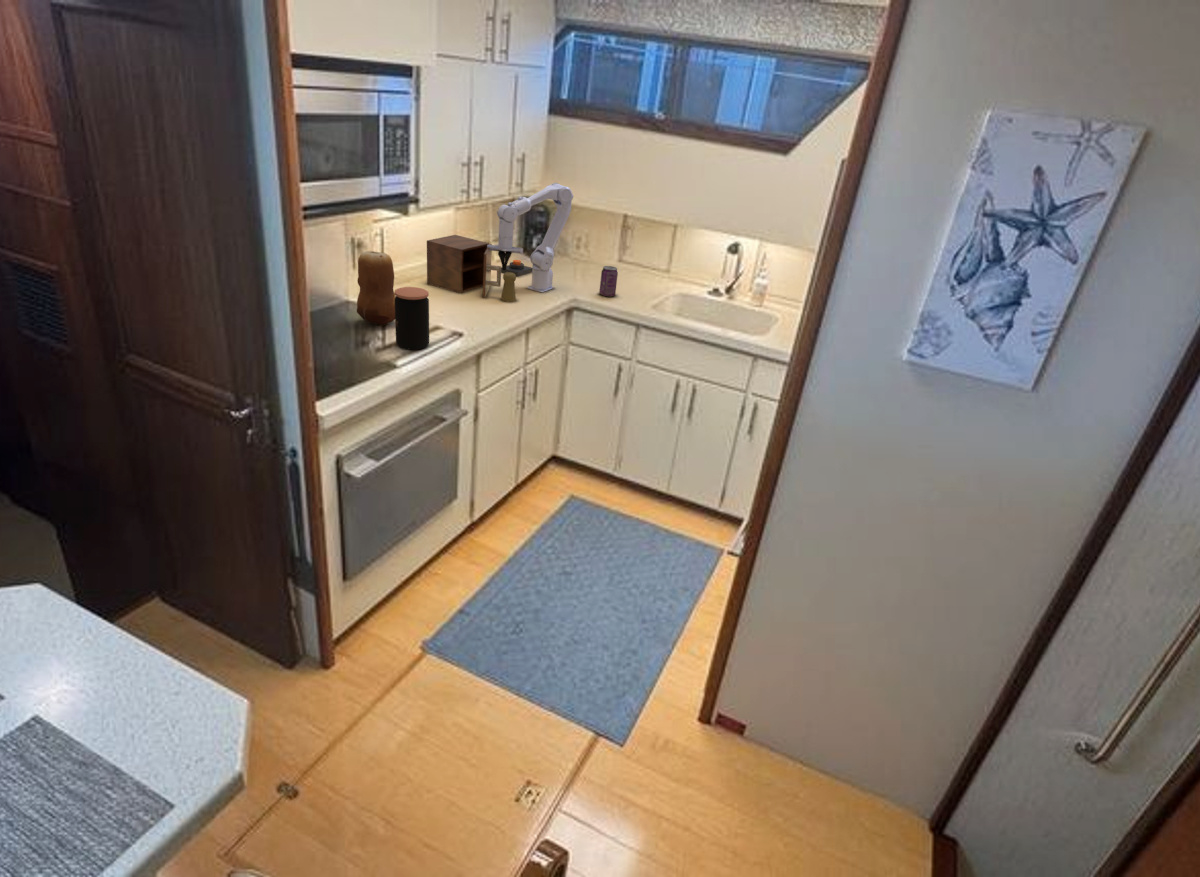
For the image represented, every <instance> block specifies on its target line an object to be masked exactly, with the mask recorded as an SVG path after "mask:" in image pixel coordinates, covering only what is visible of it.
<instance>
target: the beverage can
mask: <svg viewBox="0 0 1200 877" xmlns="http://www.w3.org/2000/svg"><path fill="white" fill-rule="evenodd" d="M618 272H619V271H618V268H617V267H616V266H612V265H604V266H603V267H602V270H601V274H600V282H599V292H598V293H599V294H600V295H601V296H604V297H613V296H616V293H617V292H616V291H617V285H618V284H617V283H618V276H619V275H618V274H619V273H618Z"/></svg>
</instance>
